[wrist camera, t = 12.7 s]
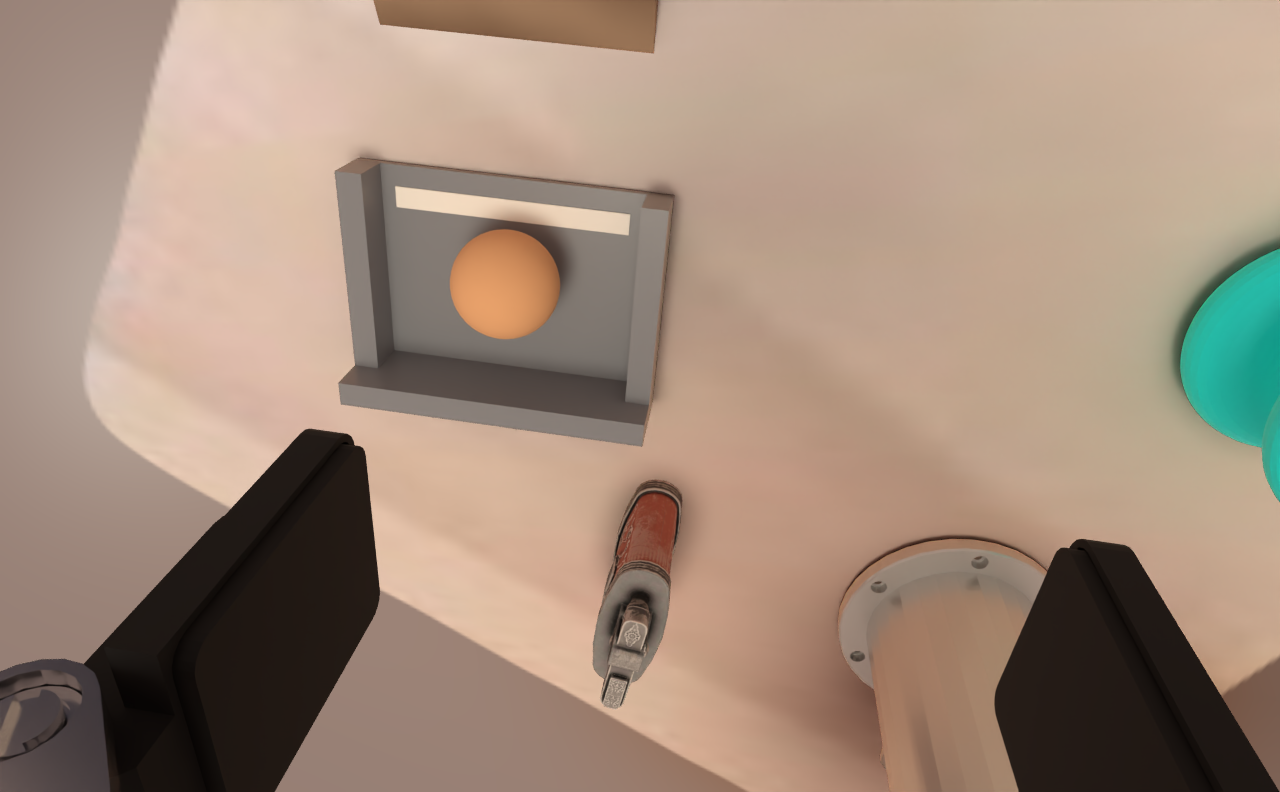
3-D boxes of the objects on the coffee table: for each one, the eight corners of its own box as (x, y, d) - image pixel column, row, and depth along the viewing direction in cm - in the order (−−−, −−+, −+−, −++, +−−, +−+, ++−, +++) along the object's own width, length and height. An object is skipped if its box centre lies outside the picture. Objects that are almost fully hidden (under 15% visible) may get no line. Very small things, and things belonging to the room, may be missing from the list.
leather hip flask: (634, 473, 45) (604, 600, 37) (693, 488, 45) (677, 619, 37) (605, 577, 49) (572, 713, 41) (659, 591, 49) (638, 731, 41)
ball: (564, 211, 36) (550, 303, 34) (567, 278, 41) (554, 364, 38) (453, 200, 36) (431, 292, 34) (467, 268, 41) (449, 353, 38)
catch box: (652, 401, 43) (642, 446, 39) (377, 363, 44) (340, 404, 40) (674, 195, 37) (664, 224, 33) (358, 157, 38) (314, 182, 34)
